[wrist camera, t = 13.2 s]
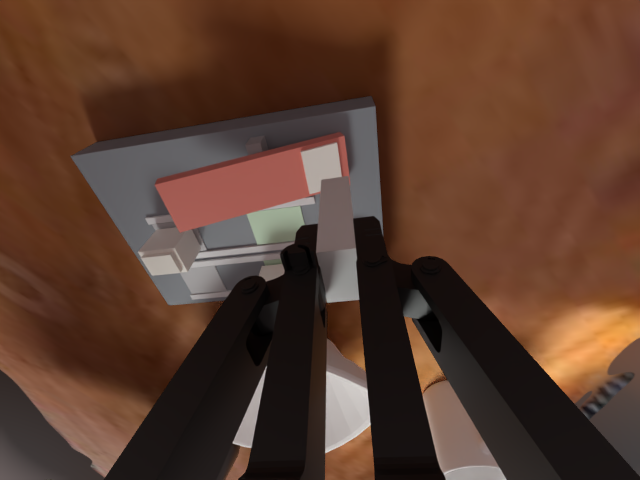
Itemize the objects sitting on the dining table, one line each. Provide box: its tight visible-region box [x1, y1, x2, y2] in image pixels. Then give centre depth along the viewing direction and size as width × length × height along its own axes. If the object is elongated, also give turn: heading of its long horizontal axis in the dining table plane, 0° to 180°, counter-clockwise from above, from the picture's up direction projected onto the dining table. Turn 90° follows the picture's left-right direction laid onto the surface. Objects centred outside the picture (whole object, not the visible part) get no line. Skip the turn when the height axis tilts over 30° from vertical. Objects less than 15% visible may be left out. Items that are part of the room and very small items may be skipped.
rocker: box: [155, 132, 350, 233], centre depth 21 cm, size 12×4×1 cm, turn 99°
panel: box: [71, 96, 383, 305], centre depth 26 cm, size 22×16×4 cm
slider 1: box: [138, 227, 201, 276], centre depth 25 cm, size 3×2×3 cm
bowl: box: [233, 339, 371, 453], centre depth 37 cm, size 21×21×9 cm
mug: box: [423, 380, 507, 480], centre depth 40 cm, size 12×8×10 cm
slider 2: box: [259, 264, 284, 282], centre depth 27 cm, size 3×2×3 cm
